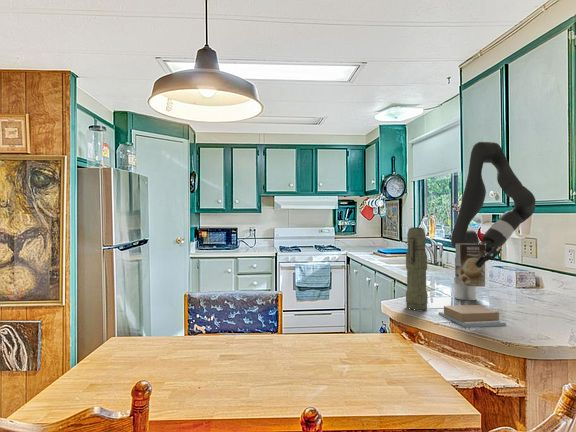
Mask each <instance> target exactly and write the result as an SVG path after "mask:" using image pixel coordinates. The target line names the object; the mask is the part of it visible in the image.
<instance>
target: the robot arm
mask: <svg viewBox="0 0 576 432" xmlns="http://www.w3.org/2000/svg"><path fill="white" fill-rule="evenodd" d="M484 164H492V166H493V167H494V168H495V169H496V171H497V173H496V180H497V183H498V185H499V187H500V189H501V190H502V192H503V193H504V194H505V195H506V197H508V198H511V199H512V200H513V205H514V207H513V208H512V209H511V210H507V211H505V212H504V213H503V214H502V215H501V216H500V217H499V218H498V219H497V220H496V221H495V222H494V223H493V224H492V225H491V226H490V227H489V228H488V230H486V232H485V233H484V234H483V235H482V237H481V242H479V236H478V234H477V231H475V230H473V229H468V228H469V225H470V223H472V222H471V221H473V219H474V218H475V216H477V215H478V213H479V212H480V211H481V209H482V208H483V206H484V202H485V198H486V195H487V190H486V185H485V183H484V180H483V175H482V170H483V166H484ZM459 207H460V208H459V211H458V214H457V217H456V218H457V219H456V221H455V224H454V227H453V228H452V229H453V230H452V233H451V236H450V243H451V245H452V247H453V248H454V249H456V243H469V244H484V245H485V251H484V252H485V253H484V254H483V255H482V257H481V258H480V259H479V260H478V261H477V262H476V263H475V265H476V266H477V267H478V268H481V266H482V265H483V264H484V263H485V264H486V262H489V261H493V260H495V258H497V256H498V255H499V254H500V253H501V252H502V250H503V249H502V246H504V244H505V243H506V242H507V241H508V240H509V239H510V237H511V236H512V235H513V234H514V232H515V231H516V230H517V229H518V227H519V226H520V225H522V223H524V222H525V221H526V220H528V219H529V218H530V217H531V216H532V215H533V214H534V212H535V211H536V198H535V195H534V194H533V192H531V190H529V189H528V188H527V187H526V186H524V185H523V184H522V182H521V181H520V180H519V178H518V177H517V175H516V174H515V173H514V171H513V169H512V168H511V166H510V162H509V160H508V159H507V157H506V154H505V152H504V151H503V148H502V147H501V146H500V144H499V143H497V142H493V141H477V142H476V143H474V145H473V147H472V148H471V152H470V157H469V165H468V173H467V177H466V182H465V187H464V190H463V194H462V198H461V204H460V206H459ZM455 258H456V256H455V257H454V259H455ZM453 278H454V279H453V280H454V281H453V282H454V283H453V285H454V287H453V290H454V291H453V293H454V295H453V296H454V298H455V299H456V300H461V301H475V300H477V287H475V286H459V285H458V284H456V283H455V277H453Z"/></svg>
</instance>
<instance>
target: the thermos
mask: <svg viewBox="0 0 576 432" xmlns="http://www.w3.org/2000/svg"><path fill="white" fill-rule="evenodd" d="M426 235H427V234H426V231H425V228H422V227H418V226H415V227H413V226H412V227H410V228H408V230H407V238H406V241H407V243H406V244H407V249H406V250H407V251H406V254H405V267H406V279H407V280H406V292H405V303H406V305H405V306H406V307H407V308H410V309H415V310H414V311H417V310H423V311H426V309H427V310H428V302H429V301H428V292H427V269H428V255H427V251H426V245H427V244H426V241H427V239H426V238H427V236H426ZM407 308H406V309H407ZM410 309H409V310H410Z"/></svg>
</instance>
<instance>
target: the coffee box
mask: <svg viewBox="0 0 576 432" xmlns="http://www.w3.org/2000/svg"><path fill="white" fill-rule="evenodd" d="M484 251H485V245H484V244H480V243H478V244H469V243H456V248H455V257H456V258H455V257H454V278H455V283H456V284H458V285H459V286H475V287H476V288H477V287H486V262H485V263H484V264H483V265H482V266H481V268H478V267H477V266H476V265H475V263H476V262H477V261H478V260H479V259H480V258H481V257H482V255H483V254H484V253H485V252H484Z"/></svg>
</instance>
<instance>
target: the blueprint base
mask: <svg viewBox="0 0 576 432" xmlns="http://www.w3.org/2000/svg"><path fill="white" fill-rule="evenodd" d="M439 314H440V316H441V315H442V316H441V317H443V316H444V318H446V319H447V320H450V321H452V322H453V323H456V324H458V325H460V326H462V327H464V328H473V327H474V328H476V327H494V326H495V327H497V326H498V327H499V326H500V327H501V326H507V322H505V321H504V320H501V319H500V312H499V311H497V310H494V309H491V308H489V307H485V306H482V305H480V304H464V305H443V311H438V315H439Z"/></svg>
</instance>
